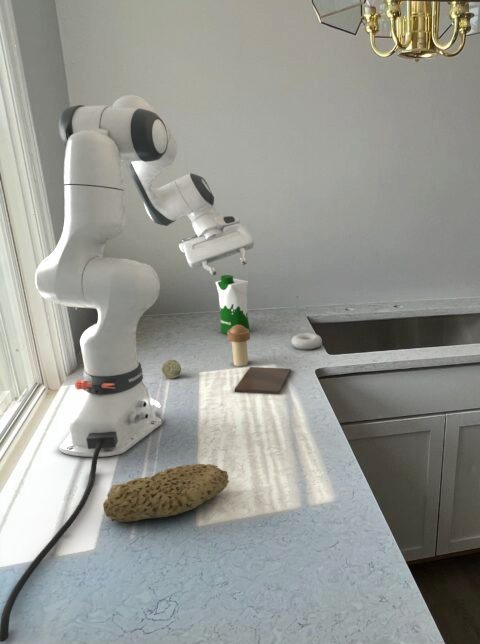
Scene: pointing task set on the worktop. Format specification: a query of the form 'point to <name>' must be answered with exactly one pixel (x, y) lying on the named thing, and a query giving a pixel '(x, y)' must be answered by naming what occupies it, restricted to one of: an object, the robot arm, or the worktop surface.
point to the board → (263, 380)
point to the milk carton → (232, 302)
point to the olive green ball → (171, 369)
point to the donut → (306, 341)
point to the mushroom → (239, 344)
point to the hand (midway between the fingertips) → (229, 269)
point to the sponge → (164, 493)
